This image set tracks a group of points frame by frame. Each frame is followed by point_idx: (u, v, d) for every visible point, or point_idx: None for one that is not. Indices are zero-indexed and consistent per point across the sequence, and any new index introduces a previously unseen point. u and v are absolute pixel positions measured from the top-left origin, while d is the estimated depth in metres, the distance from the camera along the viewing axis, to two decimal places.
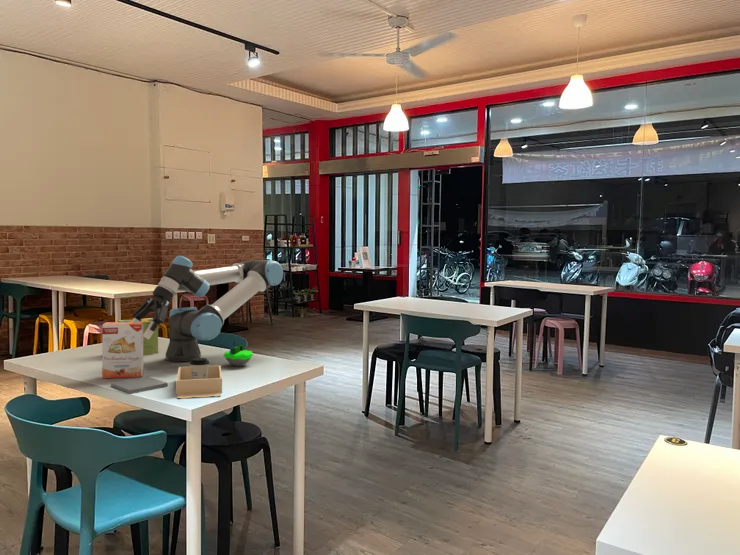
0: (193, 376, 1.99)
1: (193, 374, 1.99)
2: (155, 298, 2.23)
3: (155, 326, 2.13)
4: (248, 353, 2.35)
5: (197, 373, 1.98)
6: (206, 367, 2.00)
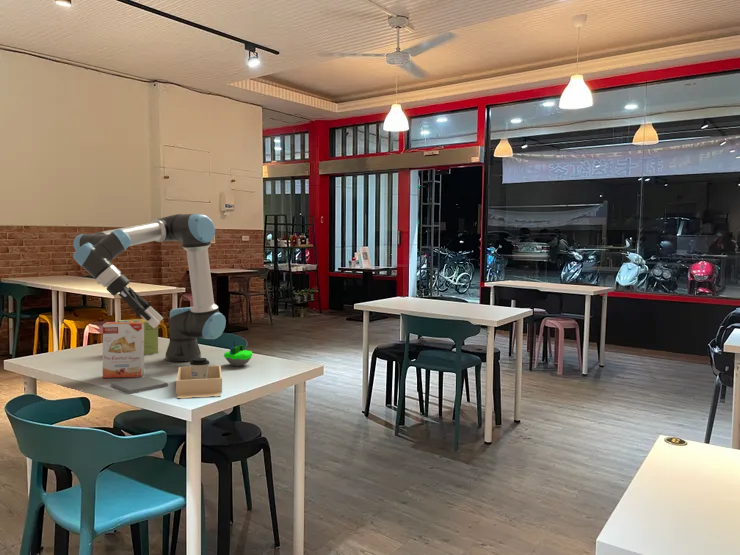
0: (193, 376, 1.99)
1: (193, 374, 1.99)
2: None
3: (145, 315, 1.89)
4: (248, 353, 2.35)
5: (197, 373, 1.98)
6: (206, 367, 2.00)
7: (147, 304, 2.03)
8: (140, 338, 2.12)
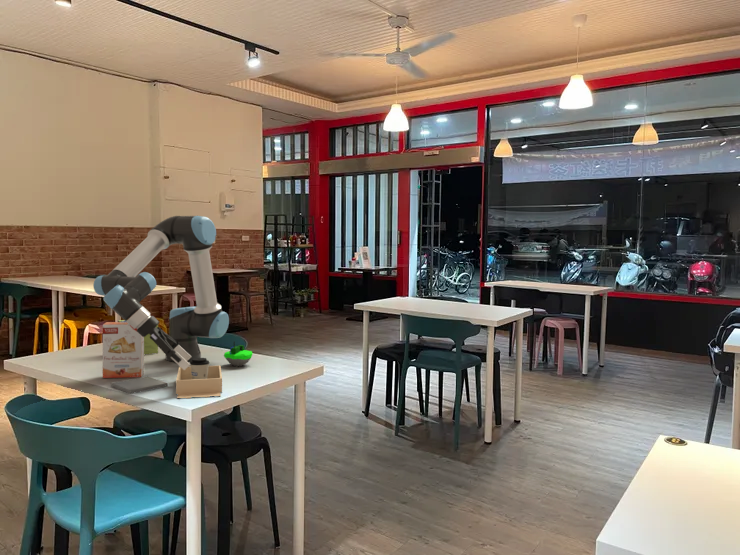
0: (193, 376, 1.99)
1: (193, 374, 1.99)
2: None
3: (176, 357, 1.90)
4: (248, 353, 2.35)
5: (197, 373, 1.98)
6: (206, 367, 2.00)
7: (175, 343, 2.04)
8: (140, 338, 2.11)
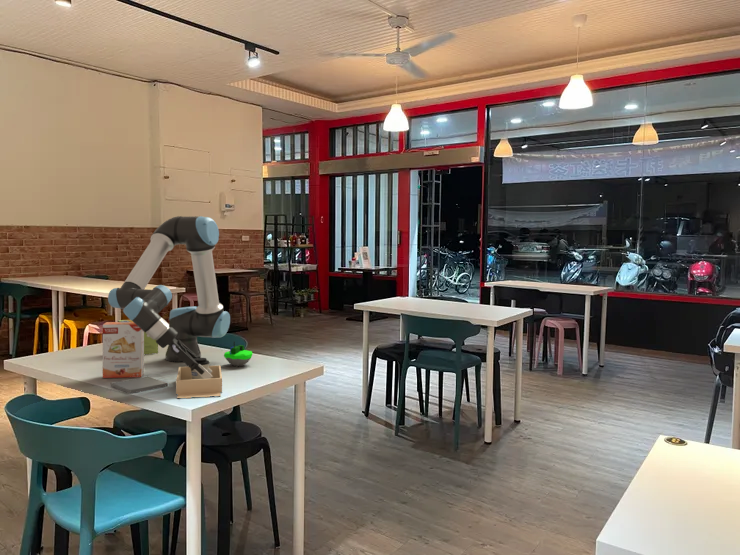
0: (193, 376, 1.99)
1: (193, 374, 1.99)
2: None
3: (199, 369, 1.96)
4: (248, 353, 2.35)
5: (197, 373, 1.98)
6: (206, 367, 2.00)
7: (196, 357, 2.04)
8: (140, 338, 2.11)
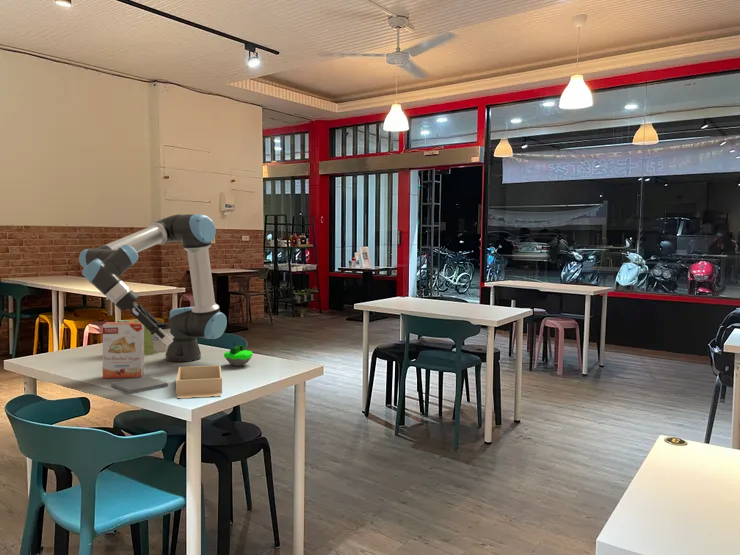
0: (154, 341, 1.96)
1: (154, 339, 1.96)
2: None
3: (159, 333, 1.93)
4: (248, 353, 2.35)
5: None
6: (167, 332, 1.97)
7: (157, 322, 2.01)
8: (140, 338, 2.11)
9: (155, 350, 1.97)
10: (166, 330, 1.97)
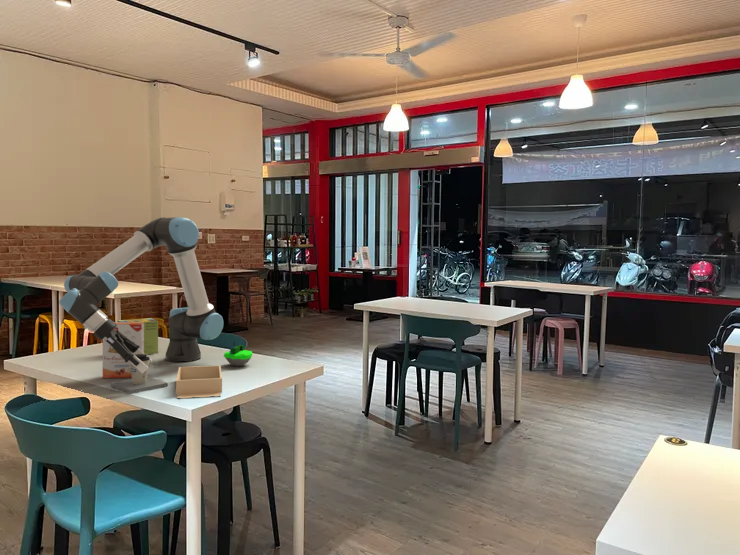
0: (132, 372, 1.97)
1: (132, 370, 1.97)
2: None
3: (134, 361, 1.91)
4: (248, 353, 2.35)
5: (136, 369, 1.96)
6: (145, 363, 1.98)
7: (135, 347, 2.04)
8: (140, 338, 2.11)
9: (134, 382, 1.97)
10: (144, 362, 1.97)
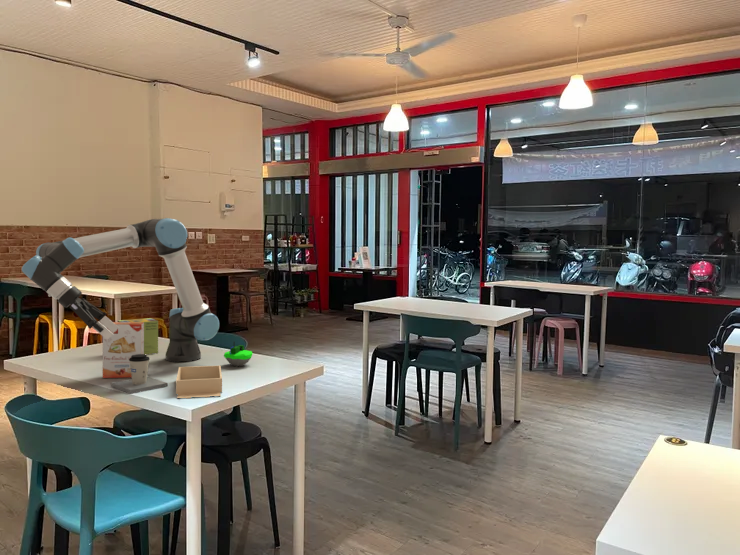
0: (132, 373, 1.97)
1: (132, 371, 1.97)
2: None
3: (97, 327, 1.88)
4: (248, 353, 2.35)
5: (136, 369, 1.96)
6: (145, 363, 1.98)
7: (102, 314, 2.02)
8: (140, 338, 2.11)
9: (134, 382, 1.97)
10: (144, 362, 1.97)
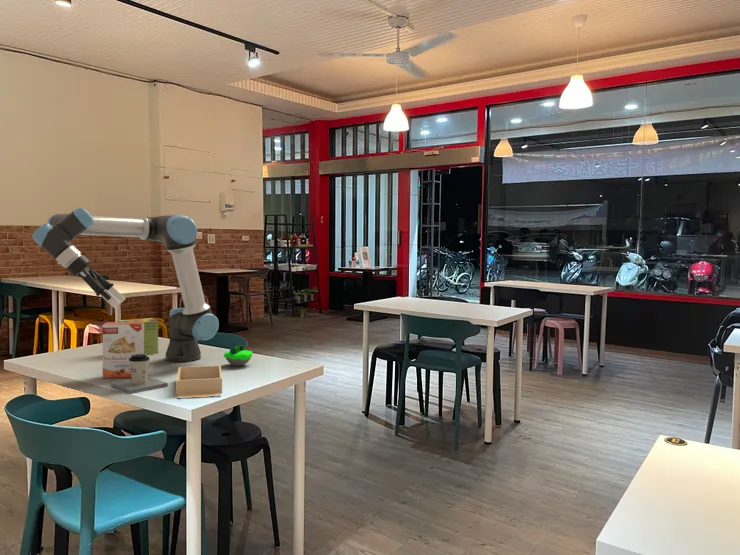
0: (132, 373, 1.97)
1: (132, 371, 1.97)
2: None
3: (105, 295, 1.91)
4: (248, 353, 2.35)
5: (136, 369, 1.96)
6: (145, 363, 1.98)
7: (109, 285, 2.05)
8: (140, 338, 2.11)
9: (134, 382, 1.97)
10: (144, 362, 1.97)
